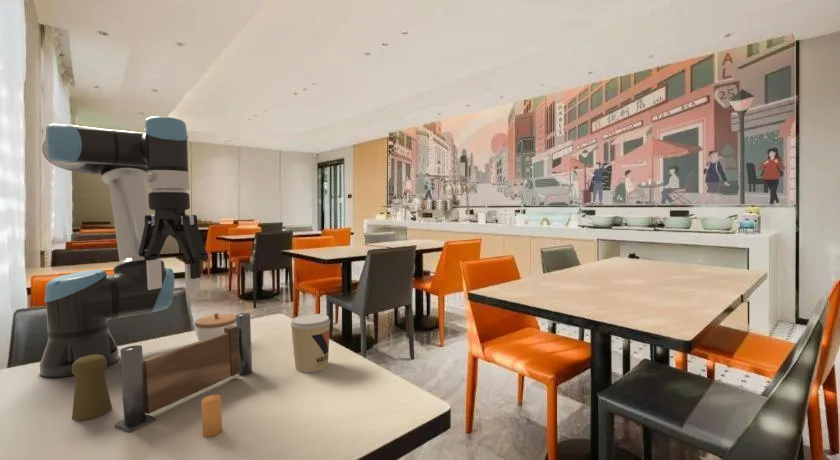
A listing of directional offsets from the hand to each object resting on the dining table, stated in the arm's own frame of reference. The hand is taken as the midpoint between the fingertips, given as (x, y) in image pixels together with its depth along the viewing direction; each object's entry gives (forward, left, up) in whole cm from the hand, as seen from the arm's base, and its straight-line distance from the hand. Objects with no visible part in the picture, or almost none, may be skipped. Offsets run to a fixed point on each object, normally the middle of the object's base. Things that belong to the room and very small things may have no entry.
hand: (173, 291), depth 87 cm
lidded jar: (-15, +22, -21) cm, 34 cm away
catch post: (+23, -9, -21) cm, 33 cm away
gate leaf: (+8, -1, -20) cm, 22 cm away
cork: (-4, -14, -21) cm, 26 cm away
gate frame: (+8, -1, -21) cm, 23 cm away
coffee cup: (+20, +21, -21) cm, 36 cm away
